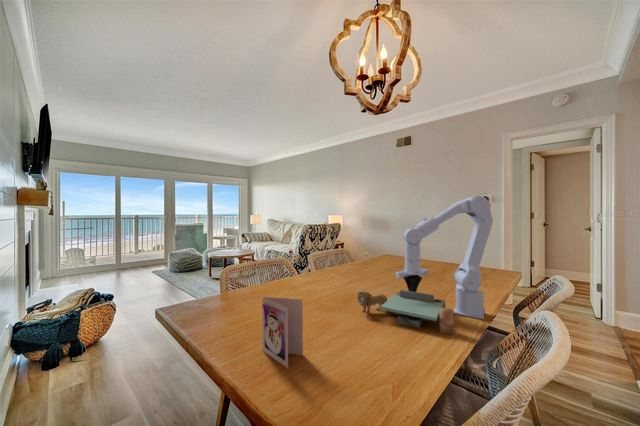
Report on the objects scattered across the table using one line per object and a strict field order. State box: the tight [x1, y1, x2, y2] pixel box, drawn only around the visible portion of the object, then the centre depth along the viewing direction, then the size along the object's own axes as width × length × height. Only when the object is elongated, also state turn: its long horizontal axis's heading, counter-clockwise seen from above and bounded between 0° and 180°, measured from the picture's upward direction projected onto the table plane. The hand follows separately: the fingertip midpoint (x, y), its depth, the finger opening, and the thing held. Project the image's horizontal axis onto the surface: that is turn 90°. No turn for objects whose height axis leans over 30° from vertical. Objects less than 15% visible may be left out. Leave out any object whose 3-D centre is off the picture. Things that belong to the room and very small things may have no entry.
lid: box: [380, 289, 443, 321], centre depth 92 cm, size 18×15×4 cm
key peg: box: [438, 307, 454, 336], centre depth 83 cm, size 4×4×7 cm
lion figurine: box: [356, 289, 388, 315], centre depth 99 cm, size 15×5×9 cm, turn 113°
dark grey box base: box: [387, 292, 446, 329], centre depth 96 cm, size 18×21×4 cm
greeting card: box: [261, 296, 304, 369], centre depth 70 cm, size 11×7×15 cm, turn 45°
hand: (412, 294), depth 101 cm, fingers closed
